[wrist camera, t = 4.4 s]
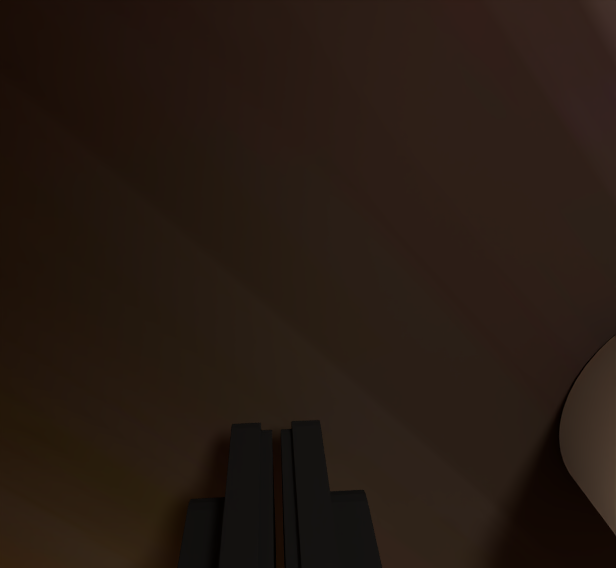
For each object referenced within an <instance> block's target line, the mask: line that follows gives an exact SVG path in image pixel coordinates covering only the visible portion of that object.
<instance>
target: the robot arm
mask: <svg viewBox="0 0 616 568" xmlns="http://www.w3.org/2000/svg"><path fill="white" fill-rule="evenodd" d="M281 455H282V494H283V533H284V564H285V568H382V565H381V560H380V556H379V551H378V547H377V542H376V538H375V533H374V529H373V524H372V520H371V515H370V510H369V506H368V501H367V498H366V494H365V492H364V490H352V491H333V492H330V489H329V482H328V475H327V468H326V461H325V454H324V446H323V439H322V432H321V425H320V421H319V420H312V421H292V429H285V430H281ZM178 568H276V538H275V507H274V478H273V449H272V430H263V431H261V423H245V424H232V429H231V439H230V450H229V461H228V472H227V482H226V493H225V497H221V498H202V499H191V500H190V502H189V506H188V510H187V516H186V522H185V527H184V533H183V539H182V545H181V551H180V557H179V562H178Z"/></svg>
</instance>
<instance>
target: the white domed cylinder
mask: <svg viewBox="0 0 616 568" xmlns="http://www.w3.org/2000/svg"><path fill="white" fill-rule="evenodd" d="M559 442H560V451H561V455H562V458H563V462H564V464H565V466H566V468H567V470H568V472H569V474H570V475H571V476H572V478H573V479H574V480H575V482H576V483H577V484H578V486H579V487H580V488H581V490H582V491H583V492H584V494H585V495H586V496H587V498H588V499H589V500H590V502H591V503H592V504H593V506H594V507H595V508H596V510H597V511H598V512H599V514H600V515H601V516H602V518H603V519H604V520H605V522H606V523H607V524H608V526H609V527H610V528H611V530H612V531H613V532H614V534H615V535H616V335H615V336H614V337H612V338H611V339H610V340H609V341H608V342H607V343H606V344H605V345H604V346H603V347H602V348H601V349H600V350H599V351H598V352H597V353H596V354H595V355H594V357H593V358H592V359H591V360H590V361H589V362H588V364H587V365H586V366H585V368H584V369H583V371H582V372H581V374H580V375H579V376H578V378H577V379H576V381H575V383H574V385H573V387H572V389H571V391H570V393H569V395H568V397H567V400H566V403H565V405H564V408H563V412H562V416H561V421H560V430H559Z"/></svg>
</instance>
